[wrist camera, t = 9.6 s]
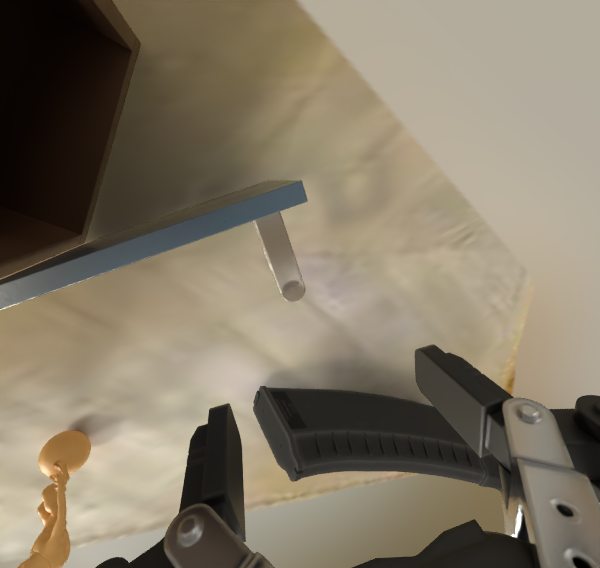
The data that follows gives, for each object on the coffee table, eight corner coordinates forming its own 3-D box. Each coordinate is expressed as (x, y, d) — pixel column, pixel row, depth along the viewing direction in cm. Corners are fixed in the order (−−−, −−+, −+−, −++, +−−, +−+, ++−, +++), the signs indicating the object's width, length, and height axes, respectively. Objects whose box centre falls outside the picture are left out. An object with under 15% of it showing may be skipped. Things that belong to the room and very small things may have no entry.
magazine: (229, 472, 25) (568, 580, 25) (238, 442, 24) (589, 553, 24) (266, 366, 41) (469, 431, 42) (272, 346, 40) (480, 413, 41)
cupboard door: (290, 245, 29) (335, 296, 16) (128, 304, 27) (37, 411, 15) (268, 180, 26) (301, 180, 14) (90, 241, 25) (-57, 304, 12)
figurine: (62, 400, 29) (-42, 536, 18) (128, 412, 31) (70, 541, 20) (45, 464, 31) (-60, 623, 20) (108, 471, 33) (44, 620, 22)
